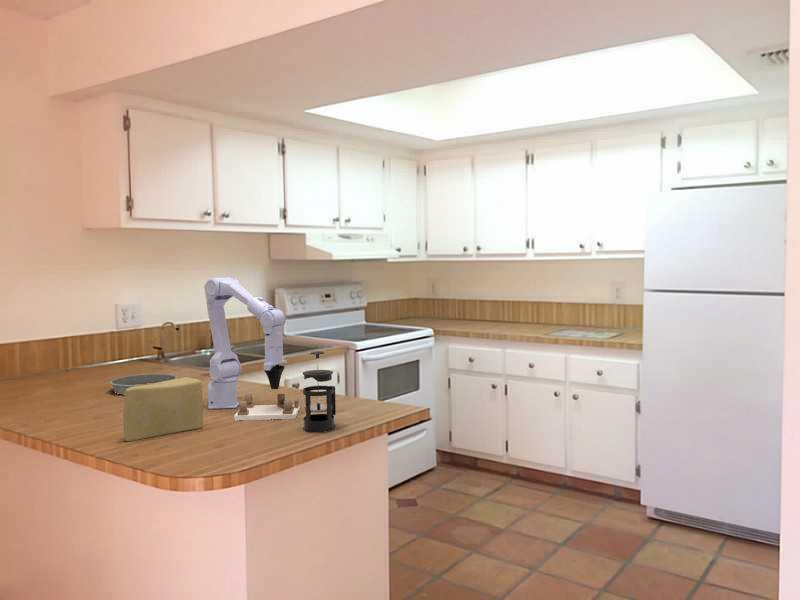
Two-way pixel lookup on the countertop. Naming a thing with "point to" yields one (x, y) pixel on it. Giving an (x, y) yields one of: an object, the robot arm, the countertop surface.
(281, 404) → the hinged leg
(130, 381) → the cake pan
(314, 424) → the french press
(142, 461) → the countertop surface
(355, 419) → the countertop surface
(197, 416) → the cheese
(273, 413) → the white board with posts
